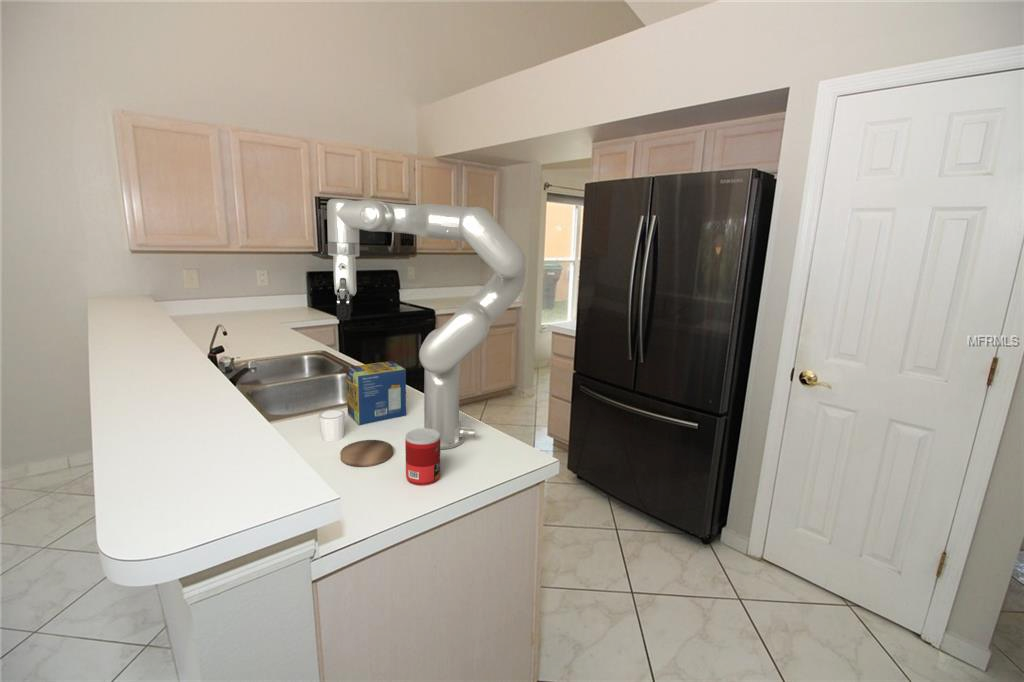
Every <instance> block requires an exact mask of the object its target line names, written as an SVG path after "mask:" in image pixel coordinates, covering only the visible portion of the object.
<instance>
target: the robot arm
mask: <svg viewBox="0 0 1024 682" xmlns="http://www.w3.org/2000/svg"><path fill="white" fill-rule="evenodd" d="M326 214H327V215H326V219H327V220H326V221H327V225H326V226H327V255H328V256H331V257H333V258H332V259H333V260H332V261H333V262H332V264H333V265H332V266H333V270H332V271H333V285H334V287H333V288H334V294H335V295H336V296H337V297H336V298H337V300H336V320H338V321H350V320H351V314H352V313H353V298H352V297H354V296H355V295H356V293H357V263H356V262H357V261H356V257H357V258H358V257H360V230H362V231H367V232H383V233H384V232H385V233H397V234H398V233H399V234H406V235H407V234H409V235H416V236H419V237H422V238H427V239H434V240H447V241H458V242H467V243H468V244H469V246H470V247H471V248H472V249H473V251H475V252H476V254H477V255H478V256H479V257H480V258H481V259H482V260H483V261H484V263H486V265H487V266H488V267H490V269H491V270H492V271H493V272H494V273H493V275H492V277H491V278H490V280H489V281H487V283H486V284H485V285H484V286H482V288H481V289H480V290H479V291H478V292H477V293H476V294H474V295H473V296H472V297H471V298H470V299H469V300H468V301H467V302H465V303H464V304H462V305H461V306H460V307H459V308H457V309H456V310H455V313H454V314H453V315H452V316H451V317H450V318H449V319H448V320H447V321H446V322H444V323H443V324H442V325H441V327H439V328H436V329H433V330H432V331H431V332H429V333H428V335H427V336H426V337H425V339H424V341H423V342H422V344H421V346H420V348H419V352H418V359H419V362H420V364H421V366H422V367H423V368H424V377H423V378H424V381H423V382H424V385H423V387H424V388H423V393H424V394H423V395H424V396H423V397H424V398H423V399H424V400H423V401H424V402H423V408H424V410H423V412H424V414H423V415H424V416H423V417H424V421H423V422H424V424H423V425H424V427H423V428H426V429H433V430H436V431H438V432H439V433H440V450H445V449H446V450H447V449H451V448H455V447H458V446H460V445H462V444H463V443H464V441H465V437H475V436H476V435H475V434H476V430H475V429H473V428H472V427H471V426H463V425H461V423H462V422H461V420H460V386H461V385H460V384H461V383H460V382H461V377H460V376H461V362H462V361H463V360H464V359H465V358H466V357H467V356H469V355H470V354H471V352H473V351H474V350H475V349H476V348H477V347H478V346H479V345H480V344H481V343H482V342H483V341H484V340H485V338H486V337H487V336H488V334H489V331H490V327H491V325H492V324H493V323H495V321H496V320H498V318H500V316H502V315H503V314H504V313H505V312H506V311H507V310H508V309H509V308H510V307H511V306H512V305H513V304H514V303H515V302H516V300H517V299H518V298H519V297H520V295H521V293H522V292H523V291H522V290H523V289H524V285H525V282H526V276H527V268H526V264H527V263H526V260H527V259H526V255H525V252H524V251H523V249H522V248H521V247H520V245H518V244H517V243H516V242H515V240H514V239H513V238H512V237H511V236H510V235H509V233H508V232H506V231H505V230H504V228H503V227H502V226H501V225H500V223H498V222H497V220H496V219H495V218H494V217H493V215H492V214H491V213H490V212H489V210H487V209H486V208H484V207H480V206H472V207H470V206H469V207H468V206H460V205H449V204H448V205H447V204H437V203H423V204H405V203H404V204H402V203H394V202H393V203H392V202H383V201H378V200H375V199H362V200H353V199H347V198H346V199H345V198H331V199H329V200H328V201H327V203H326Z"/></svg>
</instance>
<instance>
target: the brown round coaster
mask: <svg viewBox="0 0 1024 682" xmlns="http://www.w3.org/2000/svg"><path fill="white" fill-rule="evenodd" d="M339 454H340V461H341V462H342V463H343V464H344V465H347V466H350V467H354V468H370V467H374V466H378V465H382V464H383V463H386V462H387V461H389V460H390V459H392V457H393V456H394V448H393V445H392V444H391V443H389V442H387V441H384V440H379V439H365V440H359V441H354V442H352V443H349V444H347V445H345V446H344V447H343V448H342V449H341V451H340V453H339Z"/></svg>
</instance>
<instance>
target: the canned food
mask: <svg viewBox="0 0 1024 682" xmlns="http://www.w3.org/2000/svg"><path fill="white" fill-rule="evenodd" d="M404 441H405V443H404V444H405V446H404V447H405V477H406V480H407V481H408V483H410V484H412V485H415V486H428V485H432V484H435V483H436V482H438V481H439V478H440V476H441V449H440V433H439V432H438V431H436V430H433V429H426V428H424V427H423V428H416V429H412V430H410V431H408V432H406V434H405V440H404Z"/></svg>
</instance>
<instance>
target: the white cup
mask: <svg viewBox="0 0 1024 682" xmlns="http://www.w3.org/2000/svg"><path fill="white" fill-rule="evenodd" d="M345 417H346V412H345V411H344V410H341V409H329V410H325V411H322V412H320V413H319V414H318V422H319V426H320V427H319V428H320V434H321V439H322V441H323V442H327V443H333V442H334V443H335V442H339V441H341V440H342V439H344V437H345V435H344V434H345V419H346V418H345Z"/></svg>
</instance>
